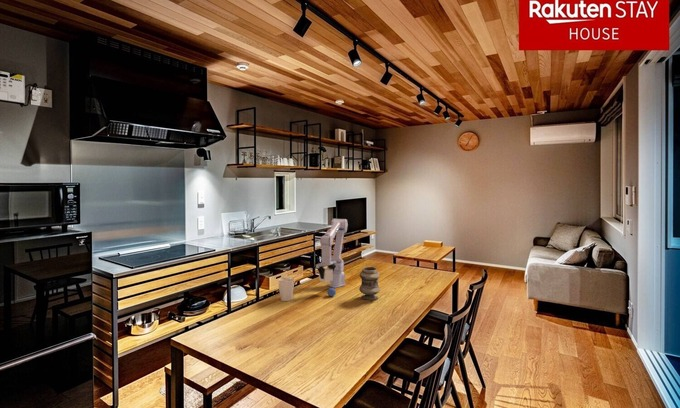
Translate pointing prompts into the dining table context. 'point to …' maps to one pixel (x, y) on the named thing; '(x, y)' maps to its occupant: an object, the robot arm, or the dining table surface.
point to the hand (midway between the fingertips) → (326, 277)
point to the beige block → (327, 275)
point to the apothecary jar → (369, 283)
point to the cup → (286, 288)
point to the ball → (331, 291)
